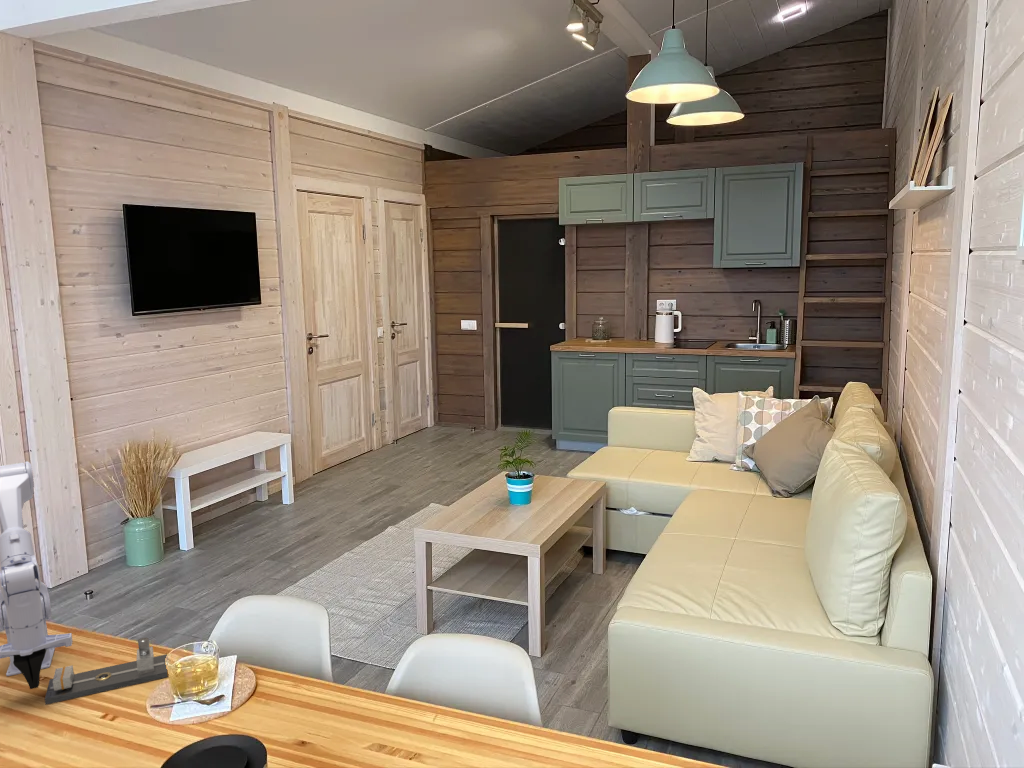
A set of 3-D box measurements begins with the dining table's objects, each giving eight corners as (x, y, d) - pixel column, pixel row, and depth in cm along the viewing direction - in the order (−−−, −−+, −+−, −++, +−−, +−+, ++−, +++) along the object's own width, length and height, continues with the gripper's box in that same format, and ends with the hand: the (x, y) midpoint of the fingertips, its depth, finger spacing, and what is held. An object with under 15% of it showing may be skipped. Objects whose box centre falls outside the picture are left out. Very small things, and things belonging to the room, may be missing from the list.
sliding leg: (57, 678, 156) (55, 668, 156) (73, 675, 157) (72, 664, 157) (54, 691, 151) (52, 680, 151) (71, 687, 153) (70, 676, 152)
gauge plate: (50, 684, 157) (46, 651, 156) (167, 659, 166) (164, 627, 165) (45, 704, 150) (40, 669, 148) (167, 677, 159) (164, 644, 157)
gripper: (-23, 639, 143) (-13, 705, 145) (66, 622, 149) (74, 686, 151) (-15, 623, 150) (-6, 687, 152) (70, 608, 156) (77, 669, 158)
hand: (34, 686), depth 152 cm, fingers closed
